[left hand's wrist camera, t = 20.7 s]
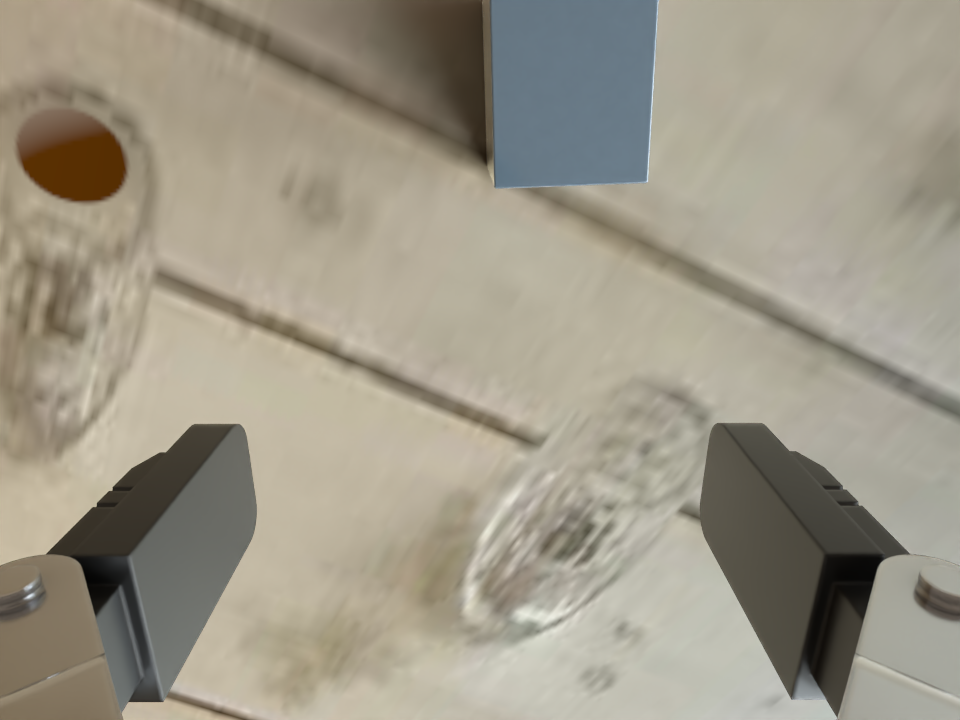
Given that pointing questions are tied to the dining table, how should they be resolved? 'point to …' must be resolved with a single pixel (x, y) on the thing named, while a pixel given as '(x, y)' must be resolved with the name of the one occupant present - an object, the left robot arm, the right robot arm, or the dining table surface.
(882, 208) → the dining table surface
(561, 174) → the block
